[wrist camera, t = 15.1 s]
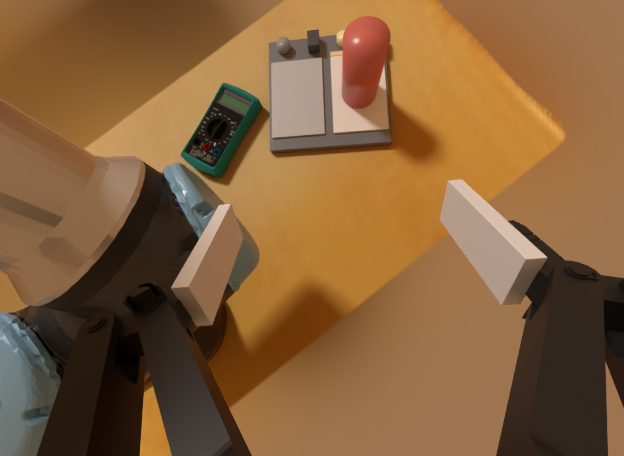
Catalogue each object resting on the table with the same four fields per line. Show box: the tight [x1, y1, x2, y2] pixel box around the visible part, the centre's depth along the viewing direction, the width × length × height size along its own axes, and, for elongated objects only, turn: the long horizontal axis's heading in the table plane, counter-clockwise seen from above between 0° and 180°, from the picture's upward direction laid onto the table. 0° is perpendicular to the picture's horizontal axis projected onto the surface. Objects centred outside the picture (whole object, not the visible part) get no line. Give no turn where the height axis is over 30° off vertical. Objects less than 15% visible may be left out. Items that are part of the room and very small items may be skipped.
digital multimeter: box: [181, 83, 262, 178], centre depth 41 cm, size 7×15×3 cm, turn 151°
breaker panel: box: [269, 30, 392, 153], centre depth 40 cm, size 19×19×3 cm
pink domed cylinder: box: [341, 16, 390, 109], centre depth 34 cm, size 6×6×10 cm
